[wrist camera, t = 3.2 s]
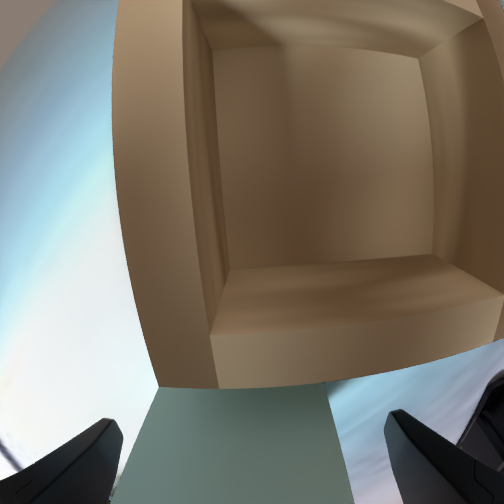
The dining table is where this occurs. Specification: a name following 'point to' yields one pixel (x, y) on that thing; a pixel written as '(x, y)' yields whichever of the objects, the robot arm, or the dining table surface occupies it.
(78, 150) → the dining table surface
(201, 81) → the maple socket block
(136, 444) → the teal square peg
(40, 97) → the dining table surface
